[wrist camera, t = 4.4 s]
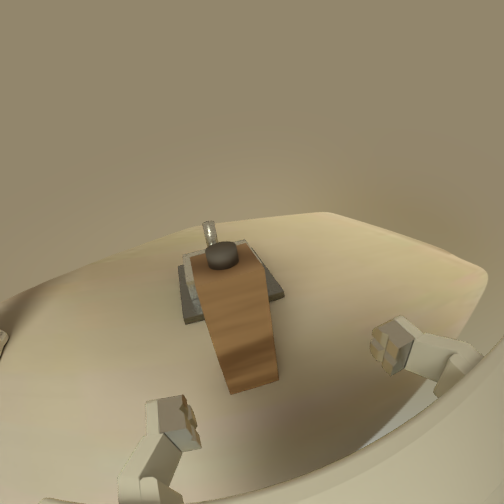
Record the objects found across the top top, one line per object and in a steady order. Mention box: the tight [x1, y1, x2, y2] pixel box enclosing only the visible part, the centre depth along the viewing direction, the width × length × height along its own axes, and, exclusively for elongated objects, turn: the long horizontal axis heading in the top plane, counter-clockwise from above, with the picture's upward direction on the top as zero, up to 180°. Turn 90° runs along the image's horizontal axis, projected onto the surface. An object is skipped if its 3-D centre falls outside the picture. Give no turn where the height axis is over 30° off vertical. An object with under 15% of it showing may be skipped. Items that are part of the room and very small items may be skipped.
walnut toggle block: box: [190, 242, 279, 394], centre depth 24 cm, size 5×5×14 cm
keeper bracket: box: [178, 221, 284, 324], centre depth 42 cm, size 16×14×8 cm
